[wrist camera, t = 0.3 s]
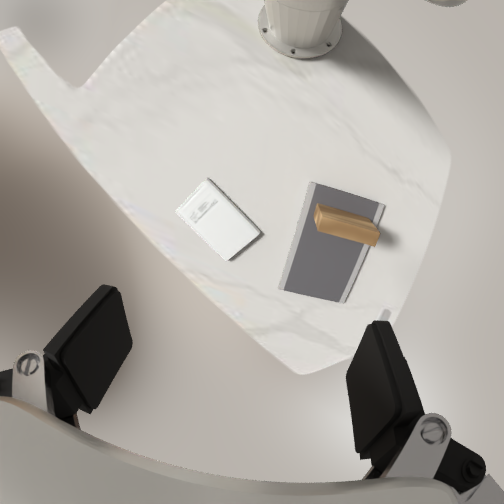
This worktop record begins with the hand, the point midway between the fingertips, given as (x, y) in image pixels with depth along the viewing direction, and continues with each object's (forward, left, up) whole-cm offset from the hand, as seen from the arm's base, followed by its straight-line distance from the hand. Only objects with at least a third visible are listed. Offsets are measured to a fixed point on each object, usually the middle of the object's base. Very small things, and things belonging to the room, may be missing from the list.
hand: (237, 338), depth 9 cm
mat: (+10, +12, -35) cm, 38 cm away
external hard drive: (+10, -7, -36) cm, 38 cm away
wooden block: (+4, +12, -34) cm, 37 cm away
